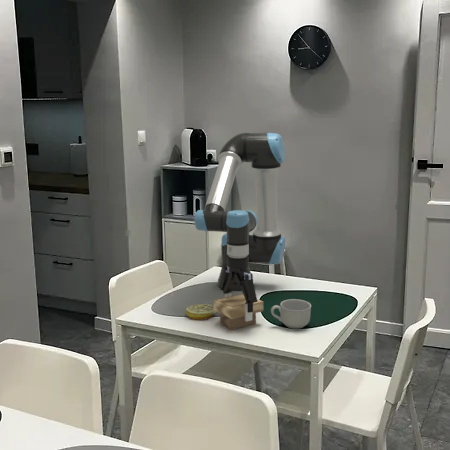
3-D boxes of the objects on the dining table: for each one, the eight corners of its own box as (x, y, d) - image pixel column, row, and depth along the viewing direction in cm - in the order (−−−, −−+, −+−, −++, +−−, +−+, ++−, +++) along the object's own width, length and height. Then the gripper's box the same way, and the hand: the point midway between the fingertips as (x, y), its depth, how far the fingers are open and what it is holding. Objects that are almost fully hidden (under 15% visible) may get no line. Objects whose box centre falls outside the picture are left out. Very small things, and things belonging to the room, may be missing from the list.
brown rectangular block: (219, 324, 214) (219, 311, 213) (245, 318, 221) (245, 304, 220) (230, 330, 209) (230, 316, 208) (256, 323, 215) (256, 309, 214)
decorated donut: (221, 317, 223) (221, 307, 222) (196, 323, 216) (196, 313, 216) (205, 309, 231) (205, 299, 230) (181, 315, 225) (180, 305, 224)
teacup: (310, 320, 218) (310, 299, 216) (311, 331, 207) (311, 309, 205) (271, 319, 219) (271, 298, 217) (270, 330, 208) (270, 308, 207)
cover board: (213, 309, 215) (212, 299, 214) (243, 302, 222) (243, 292, 222) (231, 319, 205) (231, 308, 205) (263, 311, 213) (263, 300, 212)
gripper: (209, 250, 217) (210, 308, 222) (249, 264, 198) (250, 327, 203) (227, 247, 222) (227, 304, 226) (268, 261, 202) (267, 323, 207)
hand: (238, 315), depth 214 cm, fingers closed on cover board, 11 cm apart
